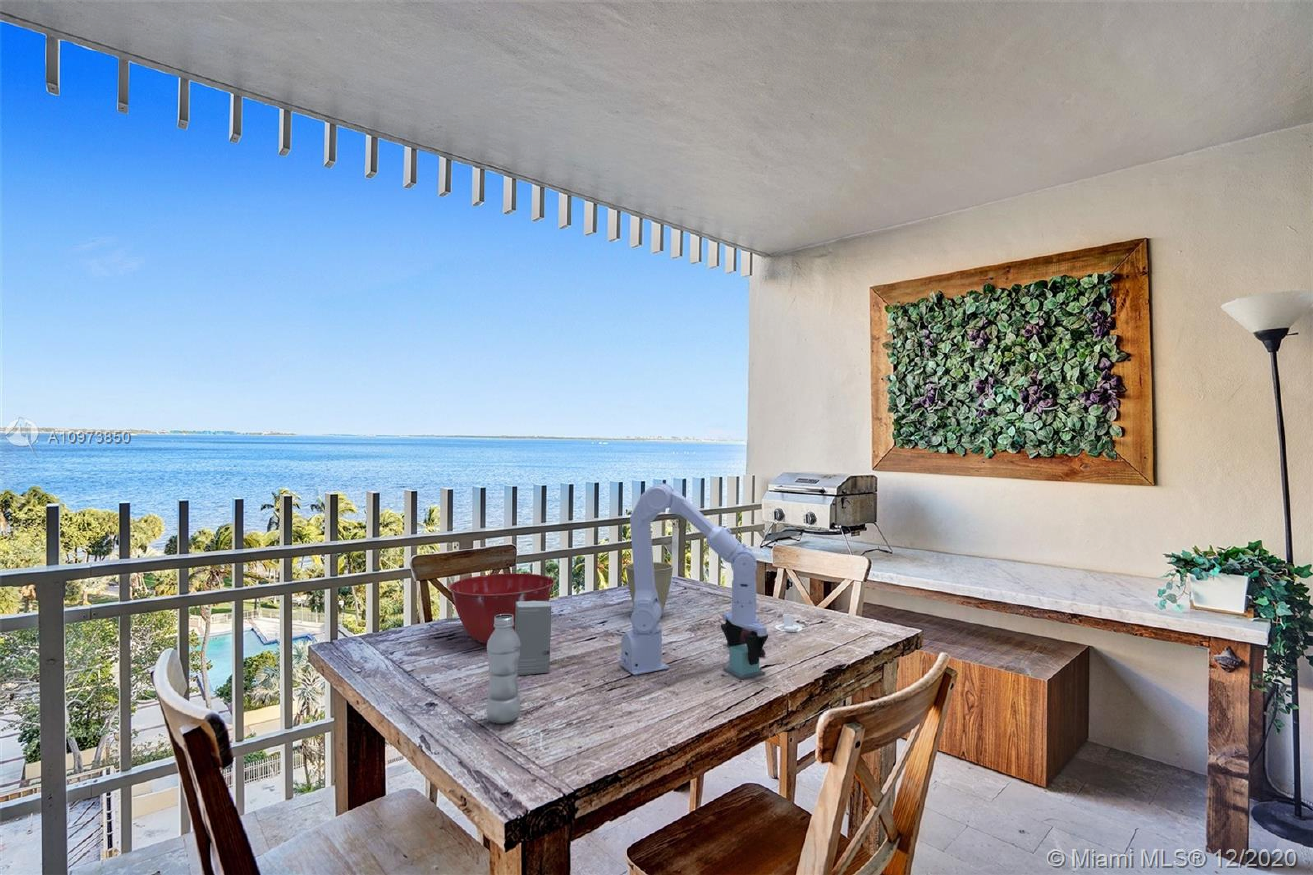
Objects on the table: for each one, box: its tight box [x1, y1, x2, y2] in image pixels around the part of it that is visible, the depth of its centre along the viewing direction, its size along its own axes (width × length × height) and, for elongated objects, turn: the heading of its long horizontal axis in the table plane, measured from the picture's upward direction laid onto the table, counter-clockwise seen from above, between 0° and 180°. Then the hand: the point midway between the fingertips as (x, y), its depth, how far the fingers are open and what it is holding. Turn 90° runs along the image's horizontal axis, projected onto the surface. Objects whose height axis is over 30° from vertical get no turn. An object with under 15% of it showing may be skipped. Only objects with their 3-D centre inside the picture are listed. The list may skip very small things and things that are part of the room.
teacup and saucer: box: [774, 613, 803, 633], centre depth 179 cm, size 9×8×4 cm
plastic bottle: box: [485, 614, 521, 725], centre depth 118 cm, size 6×7×20 cm
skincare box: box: [515, 600, 552, 677], centre depth 145 cm, size 8×7×16 cm
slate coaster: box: [722, 666, 766, 681], centre depth 143 cm, size 7×7×1 cm
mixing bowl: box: [448, 572, 556, 645], centre depth 169 cm, size 28×28×16 cm
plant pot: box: [625, 561, 674, 611], centre depth 191 cm, size 15×15×16 cm
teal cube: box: [728, 644, 760, 675], centre depth 143 cm, size 5×5×5 cm
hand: (743, 658), depth 143 cm, fingers open, 7 cm apart
